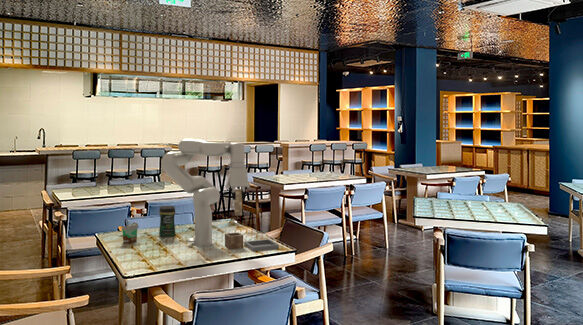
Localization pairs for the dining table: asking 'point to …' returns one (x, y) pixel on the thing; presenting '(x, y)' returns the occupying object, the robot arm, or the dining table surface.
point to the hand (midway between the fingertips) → (238, 198)
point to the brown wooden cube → (233, 240)
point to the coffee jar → (167, 221)
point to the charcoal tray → (261, 245)
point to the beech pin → (238, 202)
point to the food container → (130, 233)
